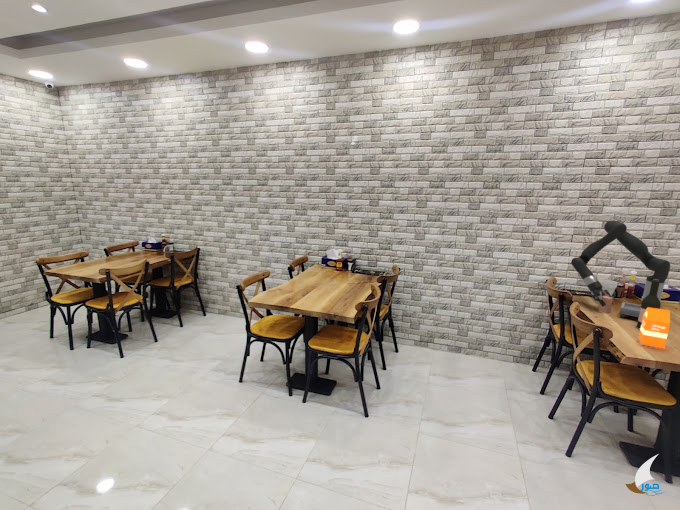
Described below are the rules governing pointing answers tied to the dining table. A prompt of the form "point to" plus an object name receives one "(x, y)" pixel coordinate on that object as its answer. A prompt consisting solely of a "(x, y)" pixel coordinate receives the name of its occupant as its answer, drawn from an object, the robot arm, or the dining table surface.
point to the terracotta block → (608, 303)
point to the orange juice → (655, 327)
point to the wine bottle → (649, 301)
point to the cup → (608, 285)
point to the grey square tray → (630, 309)
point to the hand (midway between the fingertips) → (608, 305)
